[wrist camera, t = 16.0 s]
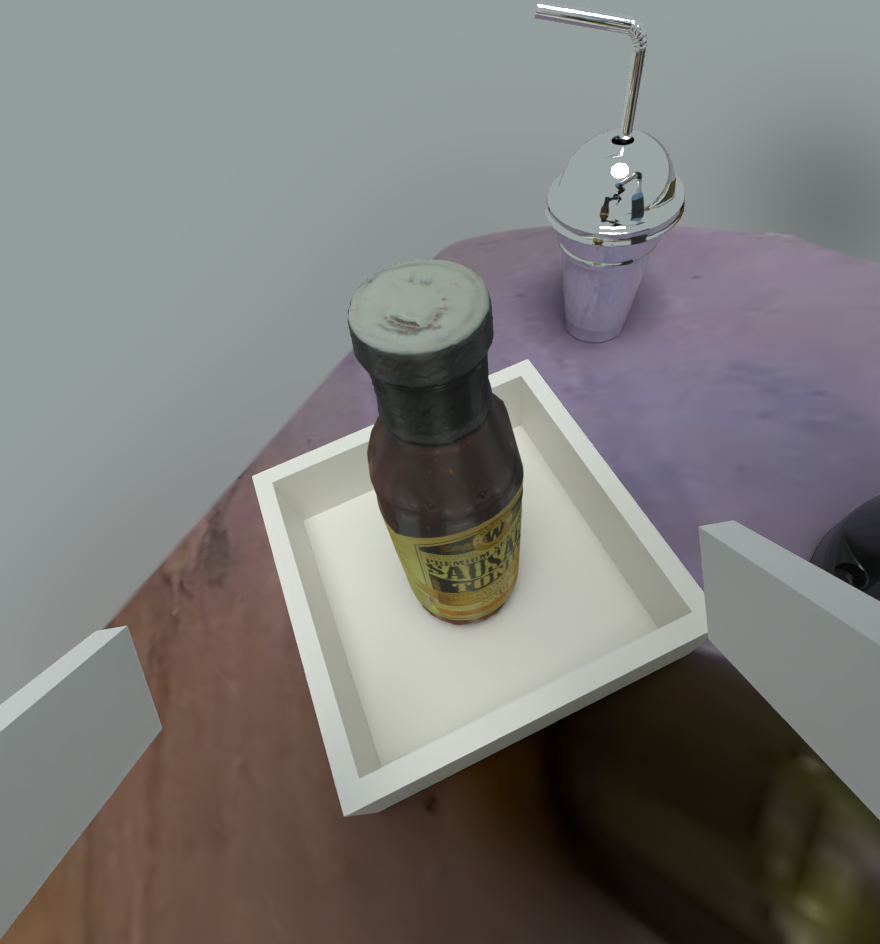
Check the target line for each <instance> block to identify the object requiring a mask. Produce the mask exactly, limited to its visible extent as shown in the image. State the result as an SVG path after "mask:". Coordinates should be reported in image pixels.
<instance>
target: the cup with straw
mask: <svg viewBox="0 0 880 944" xmlns="http://www.w3.org/2000/svg"><path fill="white" fill-rule="evenodd" d="M535 19H541V20H547V21H553V22H559V23H564V24H570V25H576V26H582V27H588V28H594V29H600V30H606V31H612V32H618V33H623V34H628V35H629V36H630V37H631V40H632V51H631V58H630V65H629V71H628V78H627V85H626V92H625V99H624V106H623V112H622V119H621V125H620V129H615V130H609V131H606V132H603V133H601V134H599V135H597V136H595V137H593V138H591V139H590V140H588V141H587V142H586V143H584V144H583V145H582V146H581V147H580V148H579V149H578V150H577V151H576V152H575V153H574V155H573V156H572V158H571V159H570V161H569V163H568V164H567V166H566V168H565V170H564V172H563V173H562V174H561V175H560V176H559V177H558V178H557V179H555V181H554V182H553V183H552V185H551V187H550V188H549V191H548V195H547V199H546V202H545V214H546V217H547V220H548V222H549V223H550V224H551V226H552V227H553V228H554V229H555V230H556V231H557V236H558V239H559V247H560V250H561V252H562V271H563V290H564V309H565V316H566V319H565V325H566V328H567V330H568V332H569V333H570V334H571V335H572V336H574V337H575V338H577V339H579V340H582V341H585V342H591V343H600V342H605V341H608V340H611V339H613V338H615V337H616V336H618V335H619V334H620V333H621V331H622V330H623V328H624V324H625V321H626V319H627V317H628V315H629V312H630V310H631V307H632V304H633V302H634V299H635V296H636V294H637V291H638V288H639V286H640V283H641V280H642V278H643V275H644V273H645V270H646V267H647V265H648V262H649V259H650V257H651V255H652V254H653V252H654V251H655V249H656V247H657V244H658V242H659V241H660V240H661V237H662V235H664V234H665V233H667V232H668V231H669V230H671V229H672V228H673V227H674V226H675V225H676V224H677V223H678V221H679V220H680V219H681V217H682V215H683V212H684V207H685V190H684V186H683V183H682V182H681V181H680V179H679V177H678V176H677V175H676V174H675V171H674V167H673V163H672V160H671V157H670V154H669V153H668V151H667V150H666V148H665V147H664V146H663V144H662V143H661V142H660V141H659V140H658V139H656V138H655V137H653V136H652V135H650V134H648V133H646V132H643V131H641V130H636V129H633V125H634V119H635V112H636V107H637V100H638V95H639V89H640V83H641V77H642V71H643V65H644V58H645V53H646V47H647V34H646V30H645V28H644V25H643V24H642V23H641V21H640V20H639V19H637V18H636V17H634V16H629V15H624V14H617V13H612V12H606V11H600V10H593V9H587V8H581V7H575V6H570V5H564V4H557V3H552V2H546V1H539V3H538V7H537V11H536V15H535Z"/></svg>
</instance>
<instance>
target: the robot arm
mask: <svg viewBox="0 0 880 944" xmlns="http://www.w3.org/2000/svg"><path fill="white" fill-rule="evenodd" d="M698 528H699V539H700V550H701V562H702V573H703V584H704V595H705V606H706V617H707V628H708V639H709V640H710V641H711V642H712V643H713V644H714V645H715V646H716V648H717V649H718V650H719V651H720V652H721V653H722V654H723V655H724V656H725V657H726V658H727V659H728V660H729V661H730V662H731V663H732V664H733V666H734V667H735V668H736V669H737V670H738V671H739V672H740V673H741V674H742V675H743V676H744V677H745V678H746V679H747V680H748V681H749V682H750V683H751V685H752V686H753V687H754V688H755V689H756V690H757V691H758V692H759V693H760V694H761V695H762V696H763V697H764V698H765V699H766V700H767V701H768V703H769V704H770V705H771V706H772V707H773V708H774V709H775V710H776V711H777V712H778V713H779V714H780V715H781V716H782V717H783V718H784V719H785V720H786V722H787V723H788V724H789V725H790V726H791V727H792V728H793V729H794V730H795V731H796V732H797V733H798V734H799V735H800V736H801V737H802V738H803V740H804V741H805V742H806V743H807V744H808V745H809V746H810V747H811V748H812V749H813V750H814V751H815V752H816V753H817V754H818V755H819V756H820V758H821V759H822V760H823V761H824V762H825V763H826V764H827V765H828V766H829V767H830V768H831V769H832V770H833V771H834V772H835V773H836V774H837V775H838V777H839V778H840V779H841V780H842V781H843V782H844V783H845V784H846V785H847V786H848V787H849V788H850V789H851V790H852V791H853V792H854V793H855V795H856V796H857V797H858V798H859V799H860V800H861V801H862V802H863V803H864V804H865V805H866V806H867V807H868V808H869V809H870V810H871V811H872V812H873V814H874V815H875V816H876V817H877V818H878V819H879V820H880V495H879V496H877V497H875V498H873V499H871V500H869V501H868V502H866V503H864V504H862V505H861V506H859V507H858V508H856V509H855V510H854V511H853V512H852V513H850V514H849V515H848V516H847V517H846V518H844V519H843V520H842V521H841V522H840V523H838V524H837V525H836V526H835V527H834V528H833V529H832V530H831V531H830V532H829V533H828V534H827V535H826V536H825V537H824V538H823V540H822V541H821V542H820V544H819V546H818V547H817V549H816V551H815V553H814V555H813V557H812V560H811V563H810V562H808V561H806V560H804V559H803V558H801V557H799V556H797V555H795V554H793V553H792V552H790V551H788V550H786V549H784V548H783V547H781V546H779V545H777V544H775V543H774V542H772V541H770V540H768V539H766V538H765V537H763V536H761V535H759V534H757V533H756V532H754V531H752V530H750V529H748V528H747V527H745V526H743V525H741V524H739V523H738V522H736V521H734V520H732V521H727V522H721V523H715V524H709V525H704V526H698ZM161 729H162V726H161V723H160V720H159V717H158V714H157V711H156V708H155V706H154V703H153V700H152V697H151V694H150V691H149V688H148V685H147V682H146V679H145V676H144V673H143V670H142V668H141V665H140V662H139V659H138V656H137V653H136V650H135V647H134V644H133V641H132V638H131V635H130V632H129V629H128V627H127V626H123V627H117V628H111V629H105V630H100V631H95V632H94V633H93V634H92V635H90V636H89V637H88V638H86V639H85V640H84V641H82V642H81V643H80V644H79V645H77V646H76V647H75V648H73V649H72V650H71V651H70V652H68V653H67V654H66V655H64V656H63V657H62V658H60V659H59V660H58V661H57V662H55V663H54V664H53V665H51V666H50V667H49V668H48V669H46V670H45V671H44V672H43V673H41V674H40V675H39V676H37V677H36V678H35V679H34V680H32V681H31V682H30V683H28V684H27V685H26V686H24V687H23V688H22V689H21V690H19V691H18V692H17V693H15V694H14V695H13V696H12V697H10V698H9V699H8V700H6V701H5V702H4V703H2V704H1V705H0V939H1V938H2V937H3V935H4V934H5V933H6V931H7V930H8V929H9V927H10V926H11V925H12V924H13V922H14V921H15V920H16V918H17V917H18V916H19V914H20V913H21V912H22V911H23V909H24V908H25V907H26V905H27V904H28V903H29V901H30V900H31V899H32V897H33V896H34V895H35V894H36V892H37V891H38V890H39V888H40V887H41V886H42V884H43V883H44V882H45V881H46V879H47V878H48V877H49V875H50V874H51V873H52V871H53V870H54V869H55V868H56V866H57V865H58V864H59V862H60V861H61V860H62V858H63V857H64V856H65V854H66V853H67V852H68V851H69V849H70V848H71V847H72V845H73V844H74V843H75V841H76V840H77V839H78V838H79V836H80V835H81V834H82V832H83V831H84V830H85V828H86V827H87V826H88V825H89V823H90V822H91V821H92V819H93V818H94V817H95V815H96V814H97V813H98V811H99V810H100V809H101V808H102V806H103V805H104V804H105V802H106V801H107V800H108V798H109V797H110V796H111V795H112V793H113V792H114V791H115V789H116V788H117V787H118V785H119V784H120V783H121V782H122V780H123V779H124V778H125V776H126V775H127V774H128V772H129V771H130V770H131V768H132V767H133V766H134V765H135V763H136V762H137V761H138V759H139V758H140V757H141V755H142V754H143V753H144V752H145V750H146V749H147V748H148V746H149V745H150V744H151V742H152V741H153V740H154V739H155V737H156V736H157V735H158V733H159V732H160V731H161Z"/></svg>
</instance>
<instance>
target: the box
mask: <svg viewBox="0 0 880 944" xmlns="http://www.w3.org/2000/svg"><path fill="white" fill-rule="evenodd" d="M488 378H489V381H490V384H491V389H492V393H493V394H495V395H496V396H498V397H499V398H500V399H501V400H503V401H504V404H505V406H506V408H507V411H508V415H509V418H510V422H511V425H512V429H513V432H514V436H515V440H516V443H517V447H518V450H519V454H520V457H521V461H522V464H523V470H524V478H523V496H522V519H521V532H520V533H521V537H520V553H519V570H518V577H517V581H516V585H515V587H514V590H513V591H512V593H511V594H510V596H509V598H508V599H507V600H506V602H505V604H504V605H503V606H502V608H501V609H500V610H499V611H498V613H497V614H495V615H492V616H490V617H489V618H488V619H486V620H484V621H480V622H476V623H471V624H465V625H453V624H451V623H448V622H445V621H442V620H440V619H438V618H436V617H434V616H432V615H431V614H430V613H429V612H428V611H427V610H426V609H425V608H423V606H422V604H421V603H420V602H419V600H418V599H417V598H416V596H415V594H414V593H413V591H412V589H411V587H410V584H409V582H408V579H407V577H406V574H405V572H404V569H403V567H402V565H401V562H400V560H399V558H398V555H397V553H396V550H395V547H394V545H393V542H392V540H391V537H390V534H389V532H388V529H387V527H386V524H385V522H384V520H383V517H382V515H381V512H380V510H379V506H378V502H377V495H376V493H375V490H374V487H373V484H372V483H371V479H370V474H369V464H368V457H367V448H368V445H369V439H370V433H371V430H372V428H373V426H374V425H371V426H369V427H367V428H364V429H362V430H360V431H357V432H355V433H353V434H350V435H348V436H346V437H343V438H341V439H339V440H336V441H334V442H331V443H329V444H327V445H324V446H322V447H320V448H317V449H315V450H313V451H310V452H308V453H306V454H303V455H301V456H299V457H296V458H294V459H291V460H289V461H287V462H284V463H282V464H280V465H277V466H275V467H273V468H270V469H268V470H266V471H263V472H261V473H259V474H256V475H254V476H252V478H253V482H254V486H255V489H256V493H257V497H258V500H259V504H260V508H261V512H262V515H263V519H264V523H265V526H266V530H267V534H268V538H269V541H270V545H271V549H272V552H273V556H274V560H275V563H276V567H277V571H278V575H279V578H280V582H281V586H282V589H283V593H284V597H285V600H286V604H287V608H288V612H289V615H290V619H291V623H292V626H293V630H294V634H295V637H296V641H297V645H298V649H299V652H300V656H301V660H302V663H303V667H304V671H305V675H306V678H307V682H308V686H309V689H310V693H311V697H312V700H313V704H314V708H315V712H316V715H317V719H318V723H319V726H320V730H321V734H322V737H323V741H324V745H325V749H326V752H327V756H328V760H329V763H330V767H331V771H332V775H333V778H334V782H335V786H336V789H337V793H338V797H339V800H340V804H341V808H342V812H343V815H344V817H347V816H355V815H362V814H370V813H377V812H380V811H382V810H384V809H386V808H388V807H390V806H392V805H394V804H396V803H398V802H400V801H402V800H404V799H406V798H408V797H410V796H412V795H414V794H416V793H417V792H419V791H421V790H423V789H425V788H427V787H429V786H431V785H433V784H435V783H437V782H439V781H441V780H443V779H445V778H447V777H449V776H451V775H453V774H455V773H457V772H459V771H461V770H463V769H465V768H466V767H468V766H470V765H472V764H474V763H476V762H478V761H480V760H482V759H484V758H486V757H488V756H490V755H492V754H494V753H496V752H498V751H500V750H502V749H504V748H506V747H508V746H510V745H512V744H513V743H515V742H517V741H519V740H521V739H523V738H525V737H527V736H529V735H531V734H533V733H535V732H537V731H539V730H541V729H543V728H545V727H547V726H549V725H551V724H553V723H555V722H557V721H559V720H560V719H562V718H564V717H566V716H568V715H570V714H572V713H574V712H576V711H578V710H580V709H582V708H584V707H586V706H588V705H590V704H592V703H594V702H596V701H598V700H600V699H602V698H604V697H606V696H607V695H609V694H611V693H613V692H615V691H617V690H619V689H621V688H623V687H625V686H627V685H629V684H631V683H633V682H635V681H637V680H639V679H641V678H643V677H645V676H647V675H649V674H651V673H653V672H654V671H656V670H658V669H660V668H662V667H664V666H666V665H668V664H670V663H672V662H674V661H676V660H678V659H680V658H682V657H684V656H686V655H688V654H690V653H691V652H692V651H693V650H694V649H696V648H697V647H698V646H699V645H700V644H702V643H703V642H704V641H705V640H706V639H708V628H707V617H706V606H705V595H704V592H703V591H702V589H701V588H700V587H699V585H698V584H697V583H696V581H695V580H694V579H693V577H692V576H691V575H690V573H689V572H688V571H687V569H686V568H685V567H684V565H683V564H682V563H681V561H680V560H679V559H678V557H677V556H676V555H675V553H674V552H673V551H672V549H671V548H670V547H669V546H668V544H667V543H666V542H665V540H664V539H663V538H662V536H661V535H660V534H659V532H658V531H657V530H656V528H655V527H654V526H653V524H652V523H651V522H650V520H649V519H648V518H647V516H646V515H645V514H644V512H643V511H642V510H641V508H640V507H639V506H638V504H637V503H636V502H635V500H634V499H633V498H632V496H631V495H630V494H629V492H628V491H627V490H626V488H625V487H624V486H623V485H622V483H621V482H620V481H619V479H618V478H617V477H616V475H615V474H614V473H613V471H612V470H611V469H610V467H609V466H608V465H607V463H606V462H605V461H604V459H603V458H602V457H601V455H600V454H599V453H598V451H597V450H596V449H595V447H594V446H593V445H592V443H591V442H590V441H589V439H588V438H587V437H586V435H585V434H584V433H583V431H582V430H581V429H580V427H579V426H578V425H577V423H576V422H575V421H574V420H573V418H572V417H571V416H570V414H569V413H568V412H567V410H566V409H565V408H564V406H563V405H562V404H561V402H560V401H559V400H558V398H557V397H556V396H555V394H554V393H553V392H552V390H551V389H550V388H549V386H548V385H547V384H546V382H545V381H544V380H543V378H542V377H541V376H540V374H539V373H538V372H537V370H536V369H535V368H534V366H533V365H532V364H531V362H530V361H529V360H528V359H527V360H524V361H522V362H520V363H517V364H515V365H512V366H510V367H508V368H505V369H503V370H501V371H498V372H496V373H494V374H491V375H489V376H488Z"/></svg>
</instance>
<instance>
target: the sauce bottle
mask: <svg viewBox="0 0 880 944" xmlns="http://www.w3.org/2000/svg"><path fill="white" fill-rule="evenodd" d="M348 325H349V329H350V335H351V338H352V344H353V349H354V353H355V356H356V358H357V360H358V361H359V363H360V364H361V365H362V366H363V367H364V368H365V370H366V371H368V373H369V374H370V377H371V379H372V384H373V386H374V391H375V393H376V396H377V402H378V412H379V416H378V418H377V421H376V422H375V424H374V426H373V428H372V430H371V433H370V439H369V445H368V448H367V457H368V464H369V474H370V479H371V483H372V484H373V487H374V490H375V493H376V495H377V502H378V506H379V510H380V512H381V515H382V517H383V520H384V522H385V524H386V527H387V529H388V532H389V534H390V537H391V540H392V542H393V545H394V547H395V550H396V553H397V555H398V558H399V560H400V562H401V565H402V567H403V569H404V572H405V574H406V577H407V579H408V582H409V584H410V587H411V589H412V591H413V593H414V594H415V596H416V598H417V599H418V600H419V602H420V603H421V604H422V606H423V608H425V609H426V610H427V611H428V612H429V613H430V614H431V615H432V616H434V617H436V618H438V619H440V620H442V621H445V622H448V623H451V624H453V625H465V624H471V623H476V622H480V621H484V620H486V619H488V618H489V617H490V616H492V615H495V614H497V613H498V611H499V610H500V609H501V608H502V606H503V605H504V604H505V602H506V600H507V599H508V598H509V596H510V594H511V593H512V591H513V590H514V587H515V585H516V581H517V577H518V570H519V553H520V537H521V533H520V532H521V519H522V496H523V478H524V470H523V464H522V461H521V457H520V454H519V450H518V447H517V443H516V440H515V436H514V432H513V429H512V425H511V422H510V418H509V415H508V411H507V408H506V406H505V404H504V401H503V400H501V399H500V398H499V397H498V396H496V395H495V394H493V393H492V389H491V384H490V381H489V378H488V358H487V352H488V349H489V347H490V345H491V343H492V340H493V317H492V306H491V299H490V296H489V292H488V289H487V287H486V285H485V283H484V282H483V280H482V279H480V277H479V276H478V274H476V273H475V272H473V271H472V270H470V269H469V268H467V267H465V266H463V265H460V264H458V263H454V262H449V261H446V260H431V259H421V260H411V261H407V262H404V263H400V264H396V265H393V266H390V267H388V268H386V269H384V270H382V271H381V272H379V273H377V274H376V275H374V276H373V277H371V278H369V279H367V280H366V281H365V282H364V283H363V284H362V285H361V286H360V287H359V288H358V289H357V291H356V292H355V293H354V295H353V297H352V298H351V302H350V307H349V309H348Z"/></svg>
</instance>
